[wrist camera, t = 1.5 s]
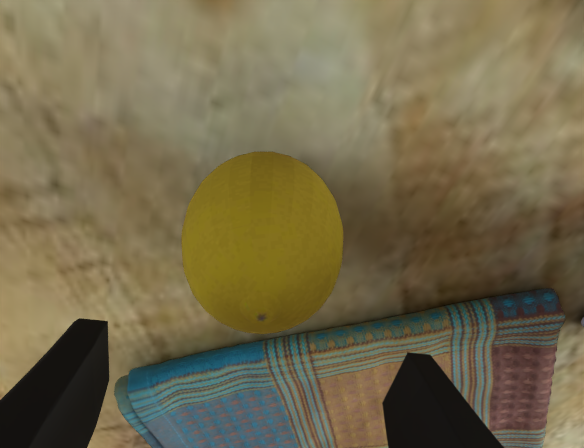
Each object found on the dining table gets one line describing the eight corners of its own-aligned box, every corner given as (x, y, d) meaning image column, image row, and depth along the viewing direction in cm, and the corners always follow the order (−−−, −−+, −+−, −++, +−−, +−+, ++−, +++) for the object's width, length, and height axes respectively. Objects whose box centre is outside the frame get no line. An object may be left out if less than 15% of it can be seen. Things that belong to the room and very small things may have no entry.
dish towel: (113, 357, 24) (98, 397, 22) (550, 275, 22) (580, 310, 20) (213, 505, 33) (208, 544, 31) (529, 457, 31) (547, 495, 29)
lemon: (279, 256, 21) (282, 405, 14) (176, 196, 19) (121, 335, 12) (357, 171, 19) (403, 300, 12) (248, 92, 17) (229, 193, 10)
